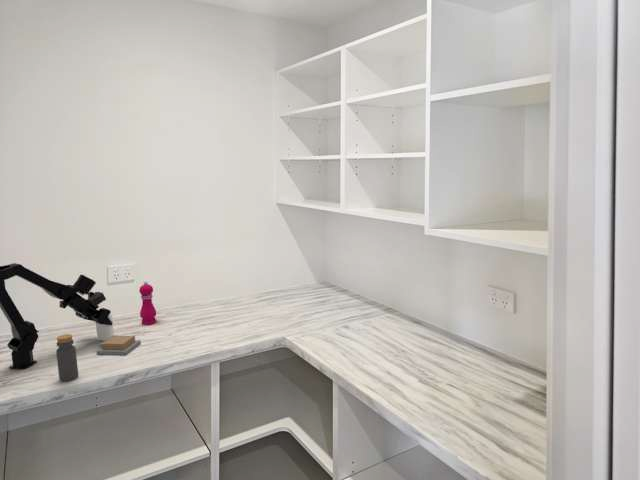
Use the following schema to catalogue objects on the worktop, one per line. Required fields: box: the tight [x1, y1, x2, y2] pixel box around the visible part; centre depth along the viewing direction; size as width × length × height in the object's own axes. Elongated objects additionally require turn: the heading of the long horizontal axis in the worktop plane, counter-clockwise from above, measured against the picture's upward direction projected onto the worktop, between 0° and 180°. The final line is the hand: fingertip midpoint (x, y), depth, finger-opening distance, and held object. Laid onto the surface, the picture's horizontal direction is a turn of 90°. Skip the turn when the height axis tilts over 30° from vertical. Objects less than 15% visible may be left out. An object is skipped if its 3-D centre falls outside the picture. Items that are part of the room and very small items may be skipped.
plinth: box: [95, 334, 141, 356], centre depth 185 cm, size 12×12×4 cm
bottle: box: [55, 333, 79, 382], centre depth 159 cm, size 6×6×15 cm
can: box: [95, 309, 115, 342], centre depth 197 cm, size 6×6×12 cm
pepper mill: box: [138, 280, 157, 326], centre depth 216 cm, size 7×7×20 cm
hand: (107, 322), depth 198 cm, fingers closed on can, 6 cm apart
